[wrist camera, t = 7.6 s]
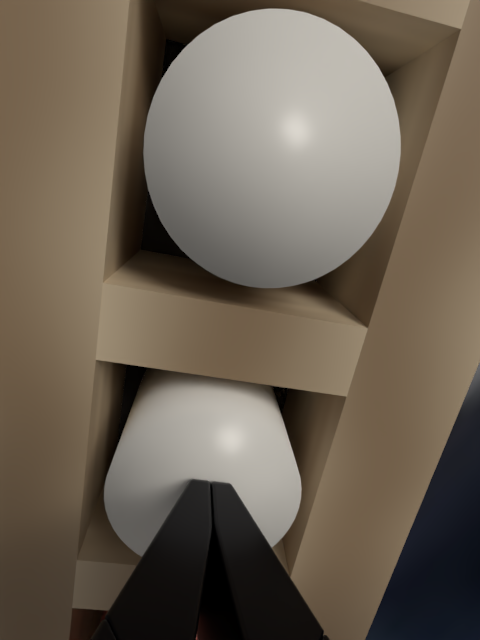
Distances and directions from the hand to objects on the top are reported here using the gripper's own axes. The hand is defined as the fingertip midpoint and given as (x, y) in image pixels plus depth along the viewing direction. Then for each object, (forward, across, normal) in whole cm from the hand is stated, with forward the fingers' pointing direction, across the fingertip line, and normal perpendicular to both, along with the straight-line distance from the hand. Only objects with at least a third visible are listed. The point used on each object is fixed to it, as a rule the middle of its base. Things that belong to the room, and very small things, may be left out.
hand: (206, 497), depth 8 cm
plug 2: (+4, 0, 0) cm, 4 cm away
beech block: (+4, 0, 0) cm, 4 cm away
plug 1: (+4, 0, -7) cm, 8 cm away
